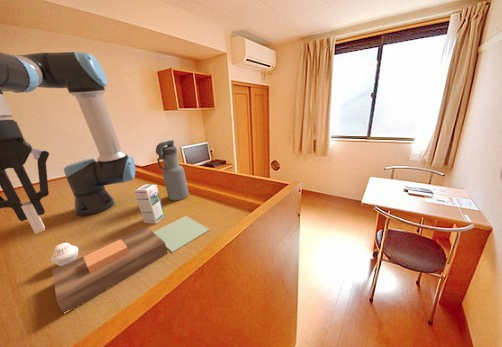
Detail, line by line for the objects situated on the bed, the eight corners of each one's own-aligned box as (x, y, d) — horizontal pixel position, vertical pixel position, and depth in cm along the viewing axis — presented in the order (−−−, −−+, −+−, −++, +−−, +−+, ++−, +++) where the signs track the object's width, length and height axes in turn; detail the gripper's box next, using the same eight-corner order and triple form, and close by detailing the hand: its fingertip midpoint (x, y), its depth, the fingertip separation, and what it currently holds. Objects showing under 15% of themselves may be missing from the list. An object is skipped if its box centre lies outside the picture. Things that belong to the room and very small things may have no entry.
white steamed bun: (75, 254, 63) (67, 236, 61) (86, 258, 61) (78, 239, 59) (51, 268, 58) (41, 249, 56) (62, 273, 56) (52, 253, 53)
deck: (58, 282, 53) (52, 270, 51) (149, 236, 69) (146, 226, 68) (64, 315, 44) (56, 301, 42) (167, 253, 60) (164, 242, 59)
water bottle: (176, 203, 93) (163, 144, 84) (164, 199, 98) (149, 143, 89) (193, 194, 101) (182, 139, 92) (180, 191, 106) (169, 139, 97)
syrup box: (156, 223, 77) (147, 189, 72) (143, 223, 78) (133, 189, 73) (165, 216, 82) (157, 183, 77) (153, 215, 83) (144, 183, 78)
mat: (151, 233, 70) (151, 233, 70) (186, 216, 80) (186, 215, 80) (172, 252, 60) (172, 251, 60) (209, 230, 69) (209, 229, 69)
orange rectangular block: (85, 262, 53) (83, 256, 53) (122, 244, 59) (120, 238, 59) (90, 273, 49) (87, 267, 49) (129, 252, 55) (127, 247, 55)
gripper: (-91, 124, 29) (-9, 253, 37) (35, 116, 38) (80, 221, 46) (-73, 124, 34) (-4, 238, 42) (34, 117, 43) (75, 212, 50)
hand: (39, 229), depth 44 cm, fingers closed
